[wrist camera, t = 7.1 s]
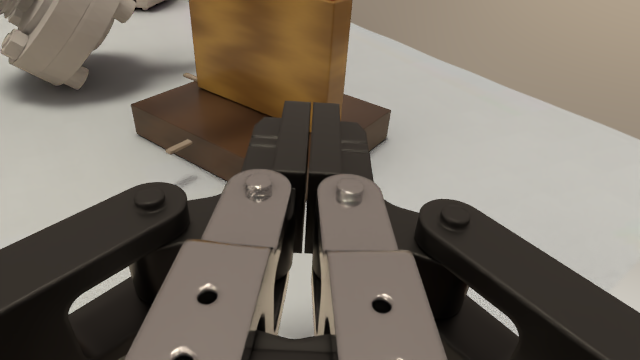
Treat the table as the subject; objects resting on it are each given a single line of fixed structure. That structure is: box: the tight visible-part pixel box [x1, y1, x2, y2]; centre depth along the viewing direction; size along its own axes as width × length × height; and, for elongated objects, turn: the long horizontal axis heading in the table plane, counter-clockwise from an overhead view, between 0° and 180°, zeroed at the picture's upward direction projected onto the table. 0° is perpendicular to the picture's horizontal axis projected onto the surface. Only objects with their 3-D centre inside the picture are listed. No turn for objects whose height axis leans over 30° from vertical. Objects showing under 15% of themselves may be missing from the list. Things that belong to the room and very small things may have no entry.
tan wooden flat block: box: [189, 0, 352, 132], centre depth 24 cm, size 10×2×7 cm, turn 54°
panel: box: [131, 73, 391, 201], centre depth 27 cm, size 14×14×2 cm
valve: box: [0, 0, 136, 90], centre depth 34 cm, size 10×20×15 cm
